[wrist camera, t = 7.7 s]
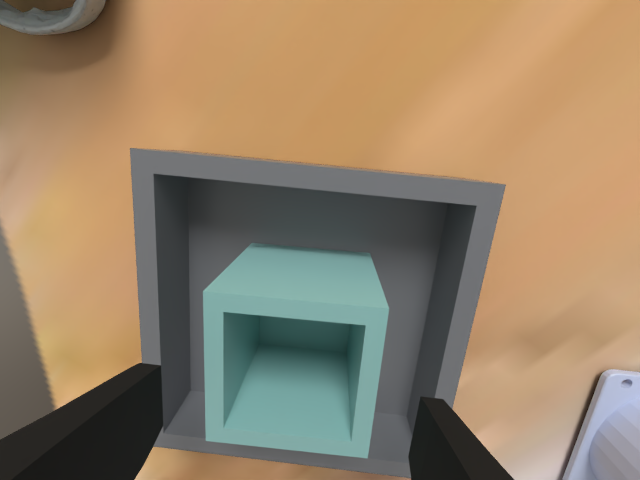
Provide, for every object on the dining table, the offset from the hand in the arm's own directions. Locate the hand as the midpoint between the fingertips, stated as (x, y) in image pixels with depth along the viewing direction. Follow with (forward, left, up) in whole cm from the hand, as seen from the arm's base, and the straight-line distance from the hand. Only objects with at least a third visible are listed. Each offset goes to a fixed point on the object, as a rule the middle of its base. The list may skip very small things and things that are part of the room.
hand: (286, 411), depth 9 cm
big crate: (0, 0, -7) cm, 7 cm away
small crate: (0, 0, -7) cm, 7 cm away
